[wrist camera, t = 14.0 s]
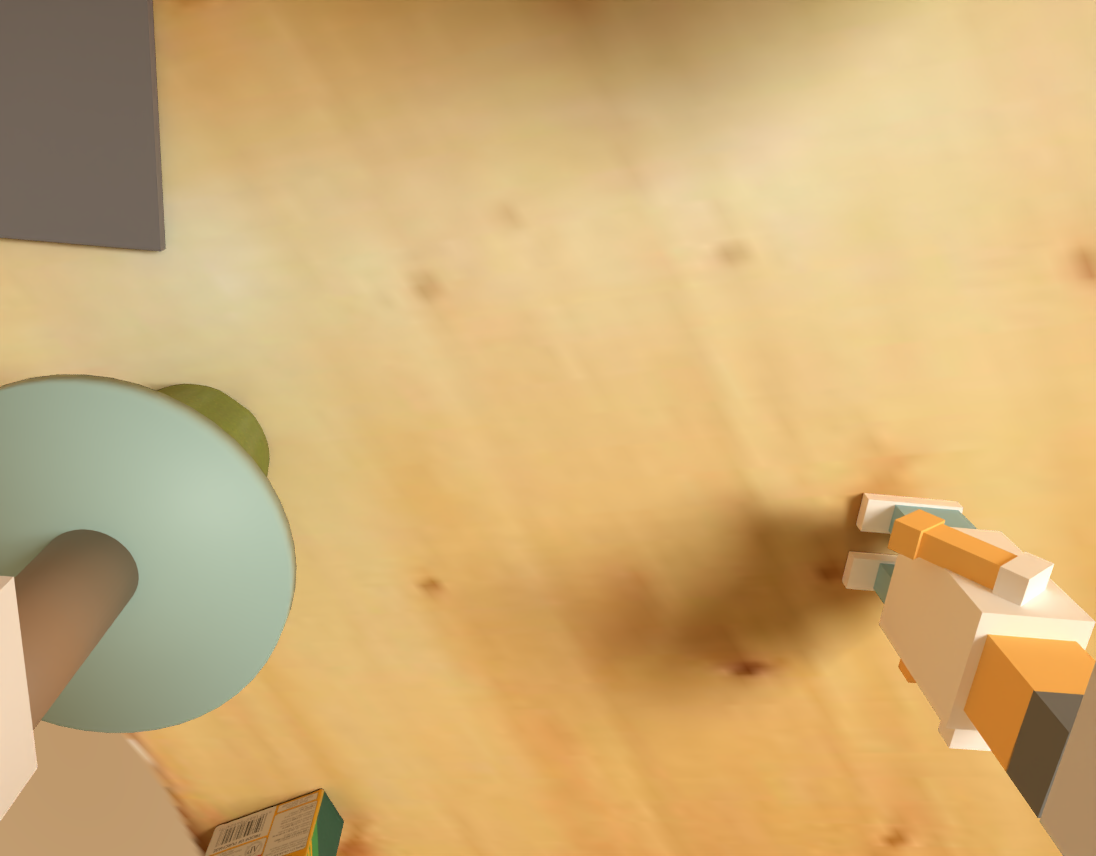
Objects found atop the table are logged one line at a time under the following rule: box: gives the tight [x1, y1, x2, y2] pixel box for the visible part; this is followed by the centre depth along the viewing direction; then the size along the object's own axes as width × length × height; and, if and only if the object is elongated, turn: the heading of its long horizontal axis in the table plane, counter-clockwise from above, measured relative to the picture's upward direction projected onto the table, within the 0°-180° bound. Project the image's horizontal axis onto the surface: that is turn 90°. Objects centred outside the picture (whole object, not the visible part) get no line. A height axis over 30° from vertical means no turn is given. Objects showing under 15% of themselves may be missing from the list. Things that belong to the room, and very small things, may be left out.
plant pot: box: [158, 384, 269, 477], centre depth 42 cm, size 12×12×11 cm
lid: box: [0, 375, 296, 733], centre depth 32 cm, size 15×15×11 cm
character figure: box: [842, 493, 1096, 818], centre depth 42 cm, size 8×10×18 cm
